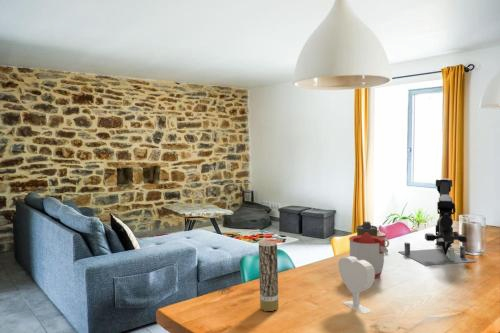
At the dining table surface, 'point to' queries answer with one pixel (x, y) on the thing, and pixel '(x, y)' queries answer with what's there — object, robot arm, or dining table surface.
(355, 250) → the citrus juicer
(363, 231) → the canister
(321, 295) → the dining table surface
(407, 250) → the posts
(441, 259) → the mat
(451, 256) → the cream rectangular bar
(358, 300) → the heart sculpture
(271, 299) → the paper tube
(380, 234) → the teacup with lid
